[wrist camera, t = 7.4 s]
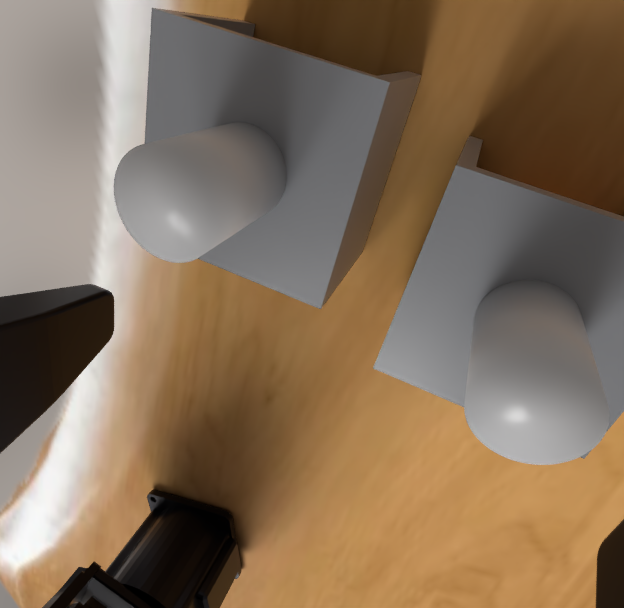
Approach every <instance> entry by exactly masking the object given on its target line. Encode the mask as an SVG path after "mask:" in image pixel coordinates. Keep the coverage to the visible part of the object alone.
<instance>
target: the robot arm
mask: <svg viewBox="0 0 624 608" xmlns="http://www.w3.org/2000/svg"><path fill="white" fill-rule="evenodd" d="M113 331H114V297H113V295H112V293H111V292H110V291H108V290H106V289H103V288H101V287H98V286H96V285H93V284H86V285H80V286H73V287H66V288H59V289H52V290H45V291H39V292H32V293H25V294H17V295H11V296H4V297H0V453H1V452H2V451H3V450H4V449H5V448H7V447H8V446H9V445H10V444H11V443H12V442H13V441H14V440H15V439H16V438H17V437H18V436H20V434H22V433H23V432H24V431H25V430H26V429H27V428H28V427H29V426H30V425H31V424H32V423H33V422H34V421H36V420H37V419H38V418H39V417H40V416H41V415H42V414H43V413H44V412H45V411H46V410H47V409H48V408H49V407H50V406H51V405H52V404H53V403H54V402H55V401H56V400H57V399H58V398H59V397H60V396H61V395H62V394H63V393H64V392H65V391H66V389H67V388H68V387H69V386H70V385H71V384H72V383H73V382H74V380H75V379H76V378H77V377H78V376H79V375H80V374H81V372H82V371H83V370H84V369H85V368H86V367H87V366H88V364H89V363H90V362H91V361H92V360H93V359H94V358H95V356H96V355H97V354H98V353H99V352H100V351H101V350H102V349H103V347H104V346H105V345H106V344H107V343H108V342H109V340H110V339H111V337H112V335H113ZM147 499H148V502H149V506H150V509H151V513H150V514H149V516H148V517H147V518H146V520H145V521H144V522H143V523H142V525H141V526H140V527H139V529H138V530H137V531H136V532H135V534H134V535H133V536H132V538H131V539H130V540H129V541H128V543H127V544H126V545H125V547H124V548H123V549H122V551H121V552H120V553H119V554H118V556H117V557H116V558H115V560H114V561H113V562H112V563H111V565H110V566H109V567H108V569H107V570H106V571H104V570H102V569H101V566H100V565H98V564H97V563H96V562H93V563H92V564H91V565H90V567H89V568H82V567H78V569H77V570H76V571H75V572H74V573H73V575H72V576H71V577H70V578H69V579H68V581H67V582H66V583H65V584H64V585H63V586H62V588H61V589H60V590H59V591H58V592H57V593H56V594H55V595H54V596H53V597H52V598H51V599H50V600H49V601H48V602H47V603H46V604H45V605H44V606H43V607H42V608H220V606H221V604H222V602H223V600H224V598H225V596H226V594H227V592H228V591H229V589H230V587H231V585H232V583H233V581H234V579H237V578H238V577H239V575H240V574H241V563H240V557H239V551H238V545H237V542H236V536H235V530H234V524H233V518H232V515H231V514H230V513H229V512H227V511H225V510H222V509H218V508H215V507H211V506H208V505H205V504H201V503H198V502H194V501H191V500H187V499H184V498H181V497H177V496H174V495H170V494H167V493H164V492H160V491H157V490H152V491H151V492H150V493H149V494H148V496H147ZM596 608H624V520H623V521H622V522H621V523H620V524H619V525H618V526H617V527H616V528H615V529H614V530H613V531H612V532H611V533H610V534H609V535H608V536H607V538H606V539H605V540H604V541H603V542H602V544H601V546H600V548H599V551H598V555H597V581H596Z"/></svg>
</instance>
